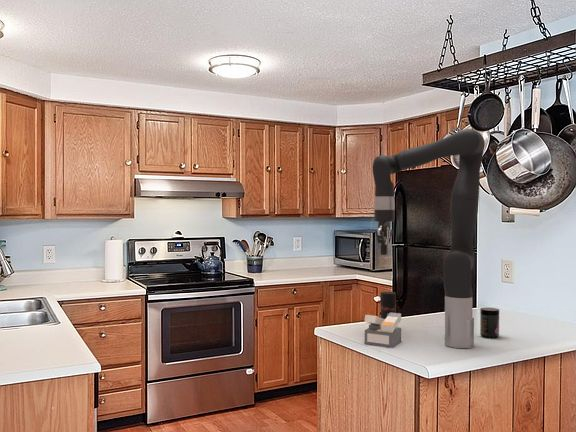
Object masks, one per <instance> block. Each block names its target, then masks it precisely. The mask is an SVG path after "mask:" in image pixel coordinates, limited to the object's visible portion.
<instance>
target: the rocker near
mask: <svg viewBox="0 0 576 432" xmlns="http://www.w3.org/2000/svg"><path fill="white" fill-rule="evenodd" d="M401 321H402V313H400V312H396V313H391V312H390V314H389V315H388V316H387V318H386V319H385V320H384V321H383V323H382V324H381V332H389V333H393V331H394V330H395V328H396V327H398V325H399V324H400V323H401Z"/></svg>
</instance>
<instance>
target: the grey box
mask: <svg viewBox="0 0 576 432" xmlns="http://www.w3.org/2000/svg"><path fill="white" fill-rule="evenodd" d="M401 342H402V327H398V326H397V327H396V328H395V330H394V331H393V333H389V332H381V325H375V324H370V323H369V324H368V328H366V329H364V345H369V346H375V347H376V346H377V347H382V348H383V347H384V348H390V349H392V348H393V347H395V346H397V345H399V344H400V343H401Z"/></svg>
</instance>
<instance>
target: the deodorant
mask: <svg viewBox="0 0 576 432" xmlns="http://www.w3.org/2000/svg"><path fill="white" fill-rule="evenodd" d="M390 312H391V313H397V292H395V291H380V318H383V319H386V318H387V316H388V315H389V314H390Z"/></svg>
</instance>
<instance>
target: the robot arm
mask: <svg viewBox="0 0 576 432" xmlns="http://www.w3.org/2000/svg"><path fill="white" fill-rule="evenodd" d="M485 146H486V145H485V138H484V137H483V135H482V134H481V133H480V132H479V131H477V130H475V129H472V128H464V129H462V130H459V131H457V132H455V133H453V134H451V135H448V136H446V137H443V138H440V139H438V140H435V141H432V142H430V143H425V144H422V145H418V146H414V147H410V148H408V149H403V150H401V151H399V152H398V153H397V154H393V155H384V154H381V155H377V156H376V157H375V158H374V160H373V163H372V174H373V180H374V185H375V187H374V191H375V192H374V208H373V209H374V212H373V213H374V219H373V220H374V221H375V222H378V223H377V224H378V225H377V230H375V231H374V232H375V236H376V240H377V242H378V244H379V245H380V255H381V256H386V255H387V256H388V253H389V252H388V249H389V248H388V246H389V243H391V240H392V235H393V231H394V230H393V229H392V226H391V222H392V223H393V222H395V218H396V217H395V210H396V209H395V208H396V206H395V205H396V203H395V183H394V182H393V181H392V179H391V175H394V174H396V173H399V172H402V171H404V170H408V169H412V168H416V167H420V166H424V165H427V164H429V163H431V162H434V161H436V160H438V159H442V158H447V157H451V156H459V158H458V159H459V160H458V161H459V162H458V172H457V175H456V177H455V181H454V184H453V187H452V191H451V196H450V206H449V208H450V209H449V212H450V213H449V217H450V226H451V244H450V250H449V253H448V254H447V255H445V258H444V260H443V272H442V273H443V288H444V345H445V346H446V347H449V348H454V349H455V348H456V349H472V348H473V346H474V345H475V318H474V317H473V293H474V292H473V288H472V270H473V268H474V264H475V261H474V259H475V257H474V237H475V230H476V225H477V219H478V211H479V200H480V181H481V180H480V178H481V177H480V173H481V165H482V162H483V161H482V160H483V156H484V155H483V154H484V151H485Z"/></svg>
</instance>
